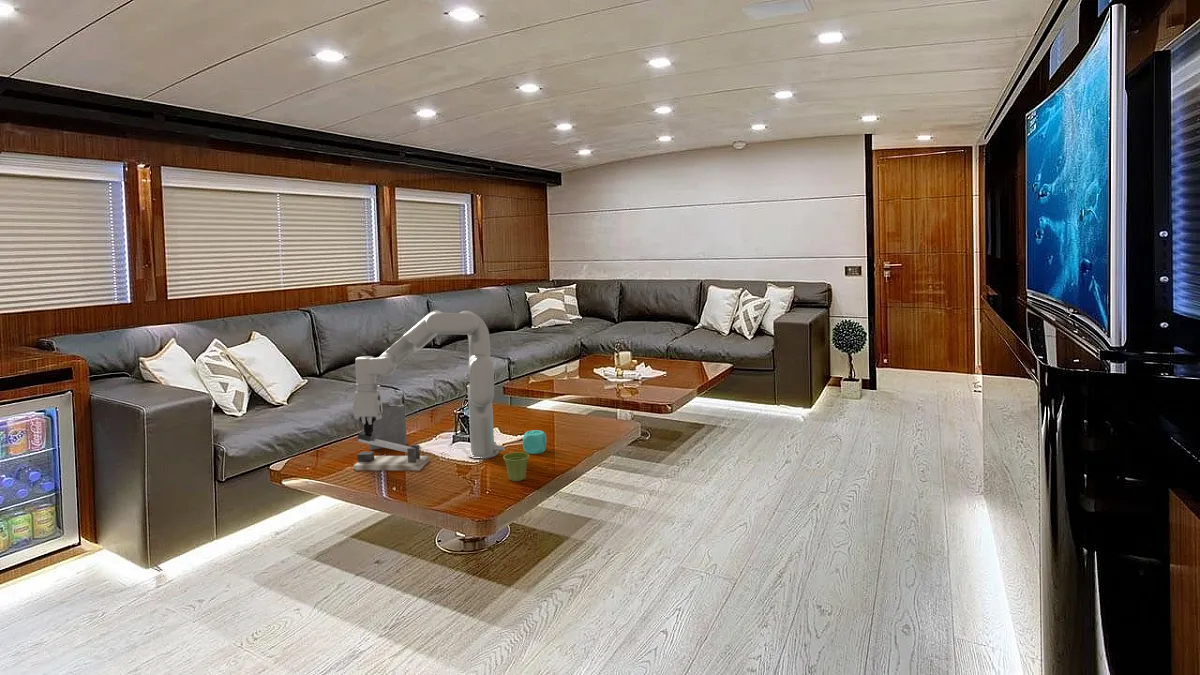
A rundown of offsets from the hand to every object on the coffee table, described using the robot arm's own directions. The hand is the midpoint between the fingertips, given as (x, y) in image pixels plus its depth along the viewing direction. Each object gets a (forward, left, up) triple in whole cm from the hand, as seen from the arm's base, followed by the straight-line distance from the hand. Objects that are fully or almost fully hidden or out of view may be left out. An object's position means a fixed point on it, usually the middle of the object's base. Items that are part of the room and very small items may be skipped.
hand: (368, 433), depth 262 cm
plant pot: (-62, +15, -13) cm, 65 cm away
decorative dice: (-63, -19, -13) cm, 67 cm away
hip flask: (+3, -26, -13) cm, 30 cm away
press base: (-9, 0, -13) cm, 16 cm away
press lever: (-7, 0, -5) cm, 9 cm away
